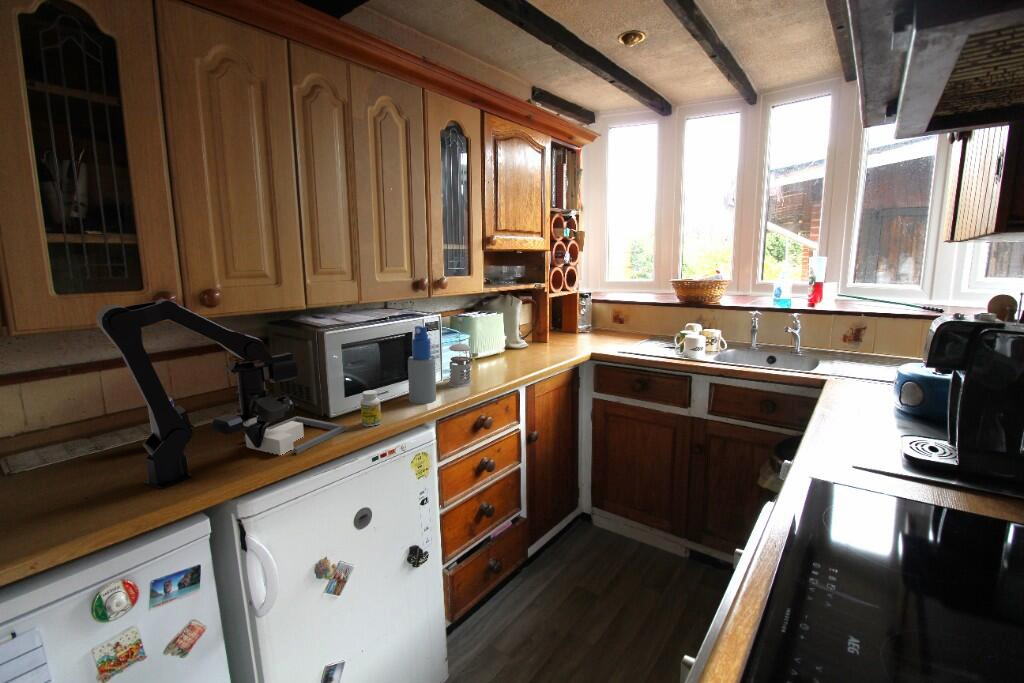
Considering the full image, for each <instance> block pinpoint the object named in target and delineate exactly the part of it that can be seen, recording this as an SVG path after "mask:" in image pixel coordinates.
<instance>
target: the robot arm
mask: <svg viewBox="0 0 1024 683" xmlns="http://www.w3.org/2000/svg"><path fill="white" fill-rule="evenodd" d="M167 320H169V321H170V322H173V323H175V324H177V325H179V326H181V327H183V328H185V329H188V330H190V331H192V332H195V333H197V334H198V335H201V336H203V337H205V338H208V339H209V340H212V341H214V342H216V343H217V344H218V345H220V346H221V347H222V348H224V349H225V350H226V351H228V352H230V353H231V354H233V356H235V357H237V358H240V359H242V360H245V362H238V361H236V360H232V362H231V363H230V364H229V365H228V366H227V367H226V368H225V371H226V372H227V371H228V372H229V373H232V374H236V378H237V379H236V380H237V388H238V389H237V390H238V391H234V396H235V397H239V398H238V400H239V406H240V407H237V408H236V412H237V413H240V414H239V415H233V414H224V415H222V416H219V417H215V418H213V420H212V421H211V422H210V423H211V424H210V427H211V432H216V433H220V434H225V435H231V434H234V433H237V432H240V431H243V432H244V434H245V433H246V435H247V436H248V438H249V439H250V440H251V442H252V443H253V445H254V446H255V447H256V448H260V447H261V444H262V441H263V437H264V434H265V431H266V428H268V427H269V424H271V423H273V422H274V421H277V420H280V419H284V417H285V416H284V415H285V414H287V413H290V412H293V411H294V402H293V401H292V400H291V399H290V397H289V396H288V395H287V394H286V395H285V394H284V395H281V396H279V397H272V395H271V391H270V389H266V383H265V380H267V381H269V382H270V383H271V384H275V383H280V382H286V381H289V380H295V379H296V378H298V375H299V368H298V365H297V363H296V360H295V359H294V357H293V353H291V352H284V353H281V354H276V355H271V354H270V353H269V352H268V351H267V350H266V349H265V348H266V347H265V343H264V341H263V340H261V339H260V338H257V337H255V336H253V335H249V334H246V333H242V332H238V331H236V330H232V329H229V328H227V327H224V326H222V325H220V324H218V323H216V322H214V321H212V320H210V319H208V318H205V317H203V316H202V315H199V314H198V313H196V312H193V311H191V310H189V309H187V308H186V307H184V306H181V305H179V304H178V303H177V302H176V301H173V300H170V299H167V298H161V299H158V300H154V301H150V302H145V303H144V302H143V303H142V302H141V303H138V304H130V305H126V306H121V305H120V304H109V305H106V306H103V307H101V308H100V309H99V310H98V311H97V314H96V315H95V321H96V325H97V326H98V327H99V328H100V330H101V331H102V332H103V333H104V335H105V336H106V337H107V339H108V340H109V341H110V342H111V343H112V344H113V345H114V347H116V349H117V350H118V351H119V353H120V355H121V358H123V361H124V363H125V366H126V367H127V368H128V370H129V372H130V375H131V376H132V378H133V380H134V383H135V384H136V387H137V388H138V390H139V392H140V395H141V396H142V398H143V400H144V403H145V404H146V406H147V409H148V408H149V411H150V418H149V421H150V420H151V424H150V426H151V425H152V429H153V433H152V432H151V434H150V435H149V436H148V437H147V438H146V439H145V440H144V442H143V443H142V446H143V448H144V449H145V450H146V452H147V453H149V455H148V456H145V458H144V460H145V467H146V473H147V479H145V480H143V483H144V484H145V485H148V486H152V487H155V488H158V489H161V490H162V489H166V488H169V487H170V486H172V485H175V484H177V483H180V482H182V481H184V480H186V479H189V478H191V477H192V475H193V474H192V473H190V472H189V465H188V464H189V463H188V457H187V454H185V449H186V445H188V444H189V442H191V439H192V438H193V428H195V426H194V425H193V423H191V421H190V418H189V414H188V412H187V411H186V410H185V408H183V407H181V406H180V405H179V404H178V405H176V406H174V407H173V406H172V404H171V402H170V400H169V398H170V397H169V396H168V394H167V392H166V390H165V388H164V386H163V384H162V382H161V380H160V378H159V376H158V373H157V372H156V369H155V368H154V366H153V364H152V362H151V359H150V358H149V355H148V353H147V351H146V349H145V346H144V340H143V339H144V338H143V332H142V328H144V327H148V326H152V325H154V324H157V323H160V322H162V321H167ZM256 361H258V362H260V363H254V362H256ZM168 397H169V398H168ZM149 411H148V412H149ZM246 435H245V436H246Z"/></svg>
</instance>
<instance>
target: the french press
mask: <svg viewBox="0 0 1024 683" xmlns="http://www.w3.org/2000/svg"><path fill="white" fill-rule="evenodd" d="M456 321H457V322H458V328H459V329H458V333H459V336H458V337H459V338H458V339H459V343H455V344H452V345H450V346H449V347H448V349H449V350H450V351H452V352H462V353H463V354H465V356H461V355H460V356H459V355H456V356H452V357H450V361H449V381H448V382H447V384H446V385H447V386H449V387H452V388H465V387H467V388H468V387H471V386H473V385H474V382H473V381H472V379H471V360H472V359H471V352H470V350H471V348H472V347H470V346H469V345H468V344H465V343H462V342H461V327H460V326H461V322H462V321H463V319H462V318H461V317H458V318H457V319H456ZM467 353H469V357H468V355H467Z"/></svg>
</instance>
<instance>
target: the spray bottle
mask: <svg viewBox="0 0 1024 683" xmlns="http://www.w3.org/2000/svg"><path fill="white" fill-rule="evenodd" d="M427 330H428V328H427V326H426V325H425V326H421V325H417V326H414V334H413V338H412V339H411V352H412V353H411V354H412V356H408V358H407V371H408V372H407V374H408V376H407V377H408V378H407V379H408V399H409V400H408V401H409V402H410V403H413V404H416V405H424V404H425V405H426V404H430V402H431V403H434V402H435V401H437V384H436V383H437V381H436V376H437V374H436V359H435V356H434V355H432V353H431V352H432V351H431V350H432V349H431V338H429V334H428V333H427V332H428V331H427ZM433 401H434V402H433Z"/></svg>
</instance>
